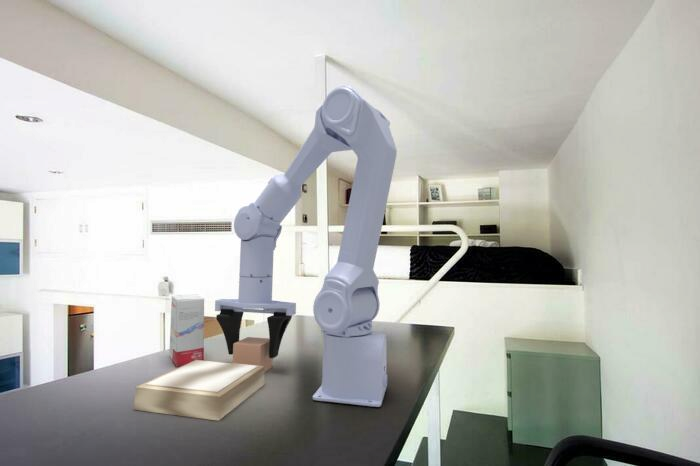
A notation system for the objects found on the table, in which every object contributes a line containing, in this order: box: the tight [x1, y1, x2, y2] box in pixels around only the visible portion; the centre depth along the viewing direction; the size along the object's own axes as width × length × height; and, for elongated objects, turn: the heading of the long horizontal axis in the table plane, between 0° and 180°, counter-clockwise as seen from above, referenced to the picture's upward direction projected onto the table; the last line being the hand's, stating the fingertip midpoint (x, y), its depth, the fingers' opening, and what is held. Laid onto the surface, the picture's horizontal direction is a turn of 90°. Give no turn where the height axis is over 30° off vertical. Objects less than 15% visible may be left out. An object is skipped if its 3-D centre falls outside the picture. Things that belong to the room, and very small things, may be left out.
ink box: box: [169, 293, 205, 368], centre depth 65 cm, size 9×5×12 cm, turn 33°
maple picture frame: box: [133, 360, 265, 422], centre depth 49 cm, size 12×12×3 cm
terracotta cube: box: [232, 336, 274, 374], centre depth 60 cm, size 5×5×5 cm
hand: (253, 354), depth 60 cm, fingers open, 7 cm apart
